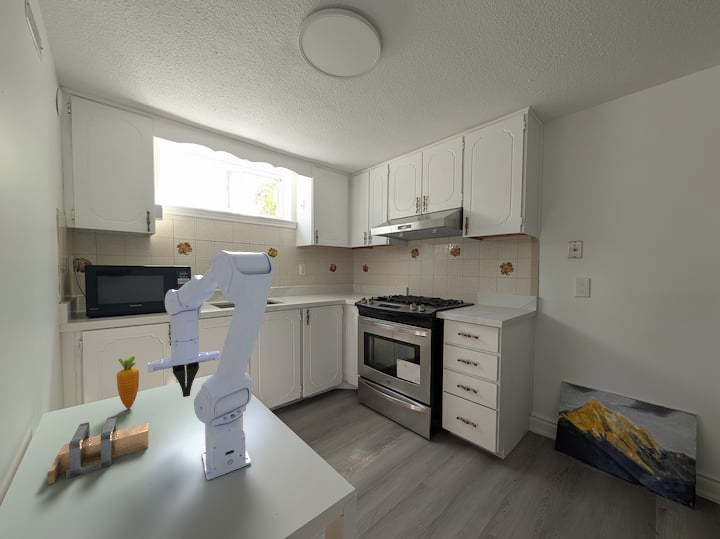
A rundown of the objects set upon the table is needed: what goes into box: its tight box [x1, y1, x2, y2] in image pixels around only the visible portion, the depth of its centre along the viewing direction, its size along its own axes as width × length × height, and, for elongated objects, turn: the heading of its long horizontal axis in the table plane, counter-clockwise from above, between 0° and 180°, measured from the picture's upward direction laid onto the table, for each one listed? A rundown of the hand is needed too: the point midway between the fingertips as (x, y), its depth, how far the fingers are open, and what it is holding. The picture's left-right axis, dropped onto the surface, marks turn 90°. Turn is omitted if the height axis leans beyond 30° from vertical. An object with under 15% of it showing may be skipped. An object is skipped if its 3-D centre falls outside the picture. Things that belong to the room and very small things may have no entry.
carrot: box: [116, 355, 140, 410], centre depth 80 cm, size 5×5×15 cm
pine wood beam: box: [59, 422, 150, 475], centre depth 61 cm, size 4×14×4 cm, turn 124°
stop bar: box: [47, 447, 63, 486], centre depth 56 cm, size 8×1×2 cm, turn 34°
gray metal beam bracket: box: [65, 415, 118, 480], centre depth 59 cm, size 8×6×6 cm
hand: (186, 395), depth 69 cm, fingers closed
